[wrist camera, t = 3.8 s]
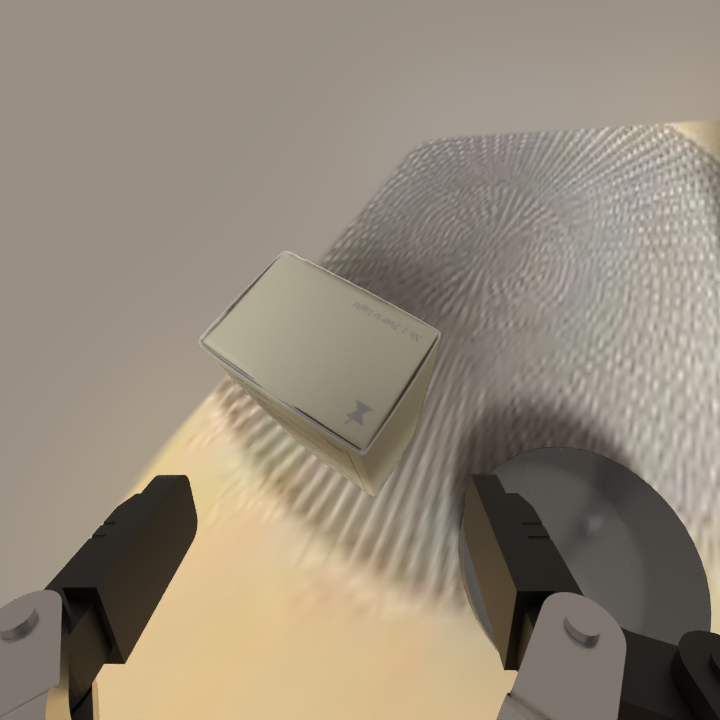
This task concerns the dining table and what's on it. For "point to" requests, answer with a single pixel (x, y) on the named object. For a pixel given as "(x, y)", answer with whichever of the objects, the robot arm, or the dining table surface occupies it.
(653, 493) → the dark gray bowl
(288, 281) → the skincare box
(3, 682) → the robot arm
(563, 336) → the dining table surface
